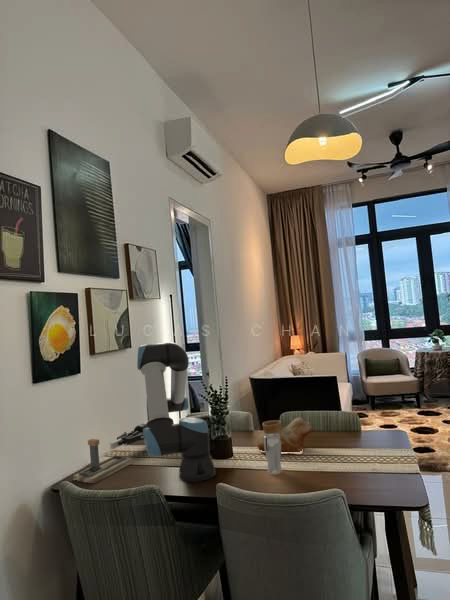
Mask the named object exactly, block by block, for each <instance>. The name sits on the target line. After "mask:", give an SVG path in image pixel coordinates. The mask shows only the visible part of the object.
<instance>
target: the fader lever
mask: <svg viewBox="0 0 450 600" xmlns="http://www.w3.org/2000/svg"><path fill="white" fill-rule="evenodd" d="M87 445H88V446H89V457H90V458H89V459H90V467H88V468H89V471H95V472H96V471H98V470H100V469H101V467H100V466H99V463H100V454H99V445H100V439H98V438H97V439H96V438H91V439H89V440H87Z"/></svg>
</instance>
